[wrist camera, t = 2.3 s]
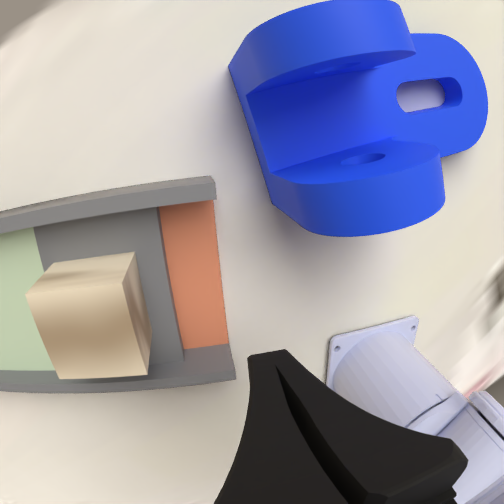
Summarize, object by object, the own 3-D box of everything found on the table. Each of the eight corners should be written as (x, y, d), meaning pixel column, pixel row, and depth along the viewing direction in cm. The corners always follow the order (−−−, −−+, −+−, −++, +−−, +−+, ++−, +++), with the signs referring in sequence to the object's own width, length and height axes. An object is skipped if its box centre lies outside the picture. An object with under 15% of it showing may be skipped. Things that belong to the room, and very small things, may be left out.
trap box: (229, 350, 21) (236, 379, 19) (-55, 363, 17) (-69, 382, 15) (210, 175, 17) (214, 182, 15) (-101, 241, 13) (-122, 254, 11)
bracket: (271, 202, 19) (338, 255, 11) (227, 66, 16) (265, 5, 7) (476, 138, 20) (566, 154, 12) (453, 39, 17) (543, 25, 9)
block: (152, 331, 18) (147, 374, 15) (77, 338, 17) (59, 379, 14) (135, 251, 17) (121, 283, 13) (53, 262, 16) (25, 294, 12)
